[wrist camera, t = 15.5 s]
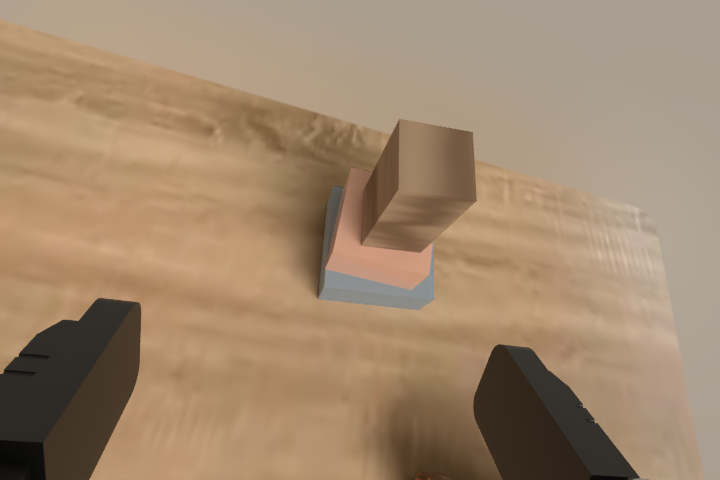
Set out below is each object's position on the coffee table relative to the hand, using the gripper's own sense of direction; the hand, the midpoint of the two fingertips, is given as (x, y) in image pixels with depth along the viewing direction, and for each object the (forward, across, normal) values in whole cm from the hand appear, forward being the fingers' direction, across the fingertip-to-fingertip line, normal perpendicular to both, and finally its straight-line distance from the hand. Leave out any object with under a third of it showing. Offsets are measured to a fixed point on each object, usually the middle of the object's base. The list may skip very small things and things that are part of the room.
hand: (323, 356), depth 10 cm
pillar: (+26, -8, +5) cm, 27 cm away
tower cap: (+29, -8, +8) cm, 31 cm away
